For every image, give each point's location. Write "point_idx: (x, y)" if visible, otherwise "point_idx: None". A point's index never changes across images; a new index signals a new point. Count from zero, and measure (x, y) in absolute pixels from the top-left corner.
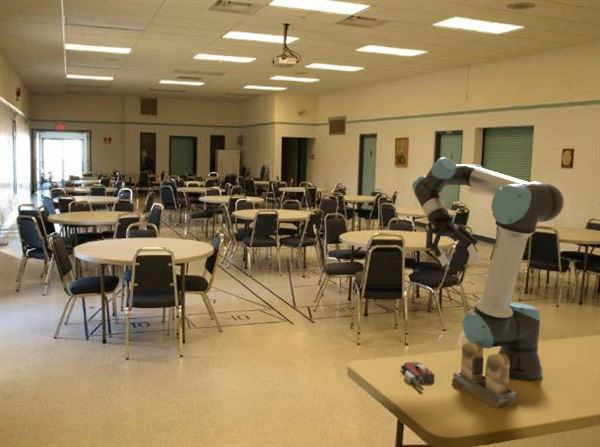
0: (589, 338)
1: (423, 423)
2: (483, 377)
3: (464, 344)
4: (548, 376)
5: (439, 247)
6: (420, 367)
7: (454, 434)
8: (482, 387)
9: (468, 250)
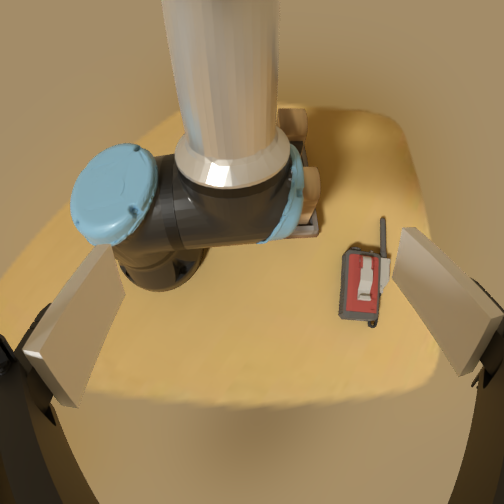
0: None
1: (406, 146)
2: None
3: (320, 187)
4: None
5: (489, 301)
6: (371, 264)
7: (382, 117)
8: (305, 162)
9: (84, 384)
